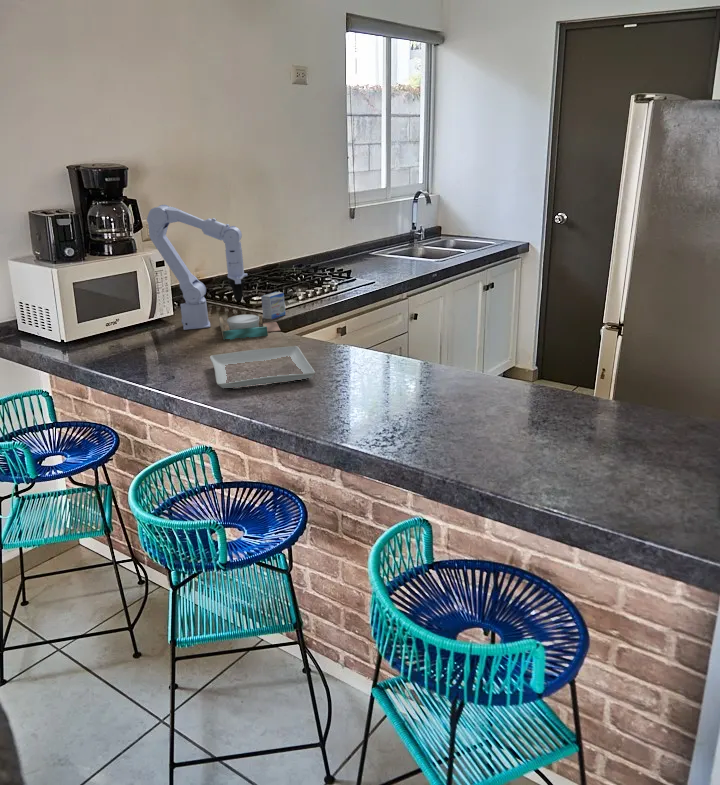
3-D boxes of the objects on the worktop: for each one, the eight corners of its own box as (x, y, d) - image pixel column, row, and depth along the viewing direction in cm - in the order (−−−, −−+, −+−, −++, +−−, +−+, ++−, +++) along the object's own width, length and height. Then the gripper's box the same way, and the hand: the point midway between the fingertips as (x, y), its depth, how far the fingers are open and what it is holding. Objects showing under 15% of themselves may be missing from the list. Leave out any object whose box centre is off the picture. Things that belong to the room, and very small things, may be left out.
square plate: (218, 396, 190) (216, 383, 189) (210, 366, 215) (209, 354, 214) (317, 383, 197) (316, 370, 195) (298, 355, 222) (297, 343, 220)
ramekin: (255, 337, 241) (253, 322, 239) (223, 337, 243) (222, 322, 241) (264, 328, 251) (263, 314, 250) (234, 328, 253) (233, 314, 251)
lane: (223, 340, 240) (222, 331, 239) (220, 325, 258) (219, 317, 257) (282, 334, 244) (281, 325, 243) (274, 319, 262) (274, 312, 261)
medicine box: (271, 319, 262) (269, 296, 259) (262, 318, 265) (260, 295, 262) (286, 315, 268) (284, 292, 265) (277, 313, 271) (275, 291, 268)
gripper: (248, 264, 244) (251, 303, 249) (244, 257, 257) (247, 294, 262) (227, 266, 242) (231, 305, 247) (224, 259, 255) (228, 296, 260)
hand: (238, 300), depth 254 cm, fingers closed
